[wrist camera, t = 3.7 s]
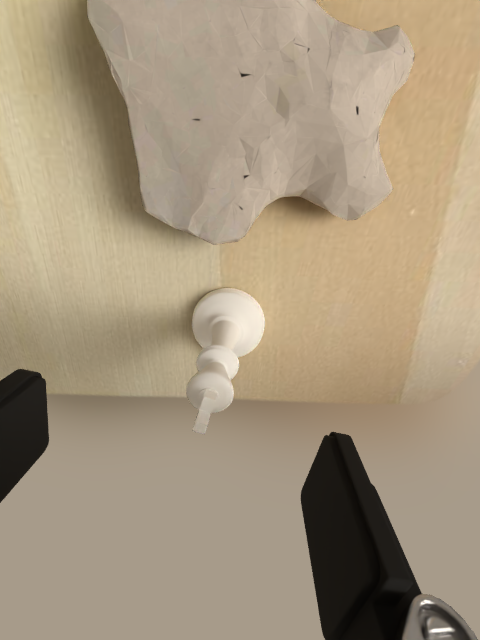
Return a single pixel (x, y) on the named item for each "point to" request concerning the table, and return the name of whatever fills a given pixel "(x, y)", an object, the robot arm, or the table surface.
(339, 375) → the table surface
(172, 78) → the stone
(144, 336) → the table surface
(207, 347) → the chess piece
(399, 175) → the table surface
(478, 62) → the table surface
